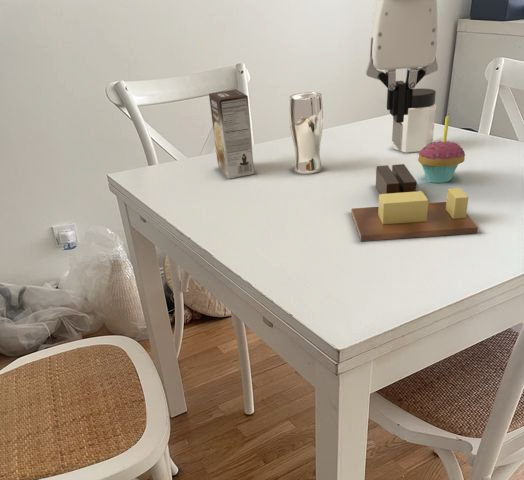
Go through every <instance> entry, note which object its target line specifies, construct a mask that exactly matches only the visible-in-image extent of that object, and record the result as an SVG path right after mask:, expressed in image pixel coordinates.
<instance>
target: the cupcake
mask: <svg viewBox="0 0 524 480" xmlns="http://www.w3.org/2000/svg"><path fill="white" fill-rule="evenodd" d="M449 113H450V112H449V111H448V112H447V115H446V116H445V120H444V127H443V133H442V134H443V136H442V140H439V141H435V140H434V141H433V142H432V143H430V144H427V145H426V146H425V147H423V148H422V150H420V152H418V157H417V162H418V163H419V164H420V165H421V167H422V169H423V172H424V177H425V180H426V182H429V183H433V184H442V183H443V184H444V183H449V182H450V181H451V180H452V178H453V176H454V173H455V171H456V170H457V168H458V166H459V165H460V164H462V163H464V162H465V157H466V153H465V150H464V148H463V147H461V145H459V144H458V143H456V142H453V141H449V140H447V139H448V138H447V137H448V130H449V123H450V116H449V115H450V114H449Z"/></svg>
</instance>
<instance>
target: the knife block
mask: <svg viewBox="0 0 524 480" xmlns="http://www.w3.org/2000/svg"><path fill="white" fill-rule="evenodd" d="M375 169H376V170H375V188H376V191H377V192H378V195H379V194H389V193H403V192H416V191H417V185H418V184H417V183H418V182H417V180H416V178H415V177H414V176H413V175H412V173H411V172H410V170H409V169H408V167H407V166H406V165H405V163H399V164H392V165H391V168H390V166H389V165H388V164H386V165H377V166H376V168H375Z"/></svg>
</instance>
